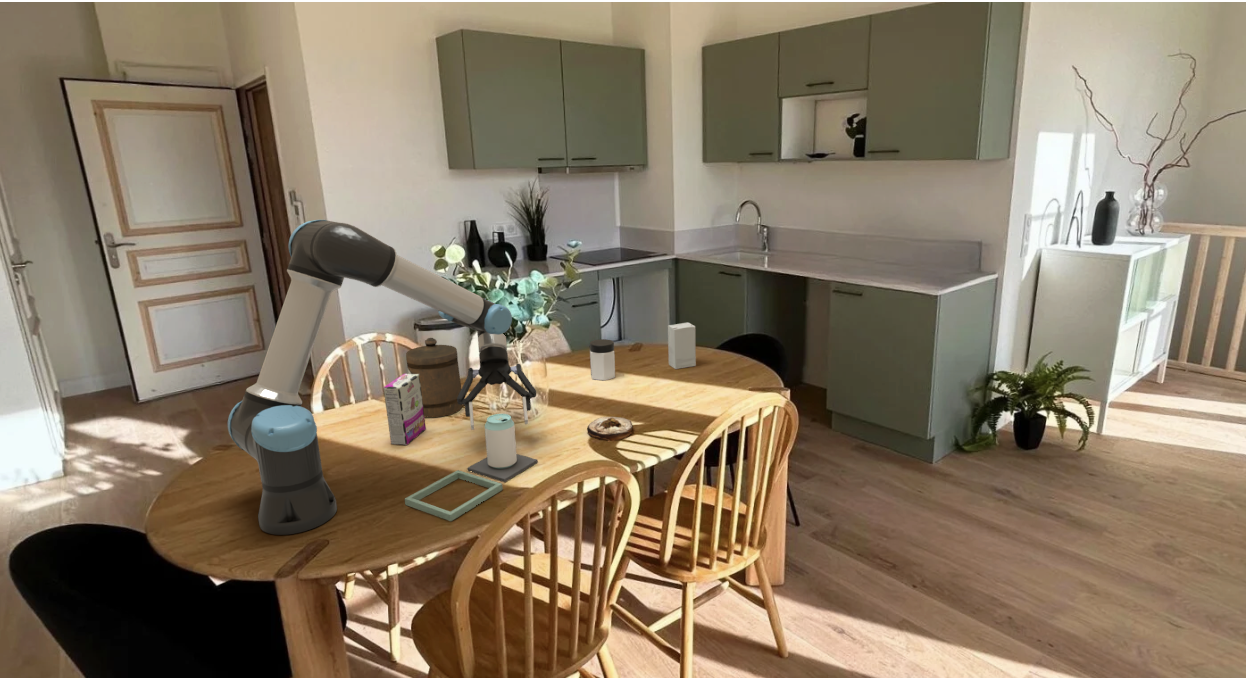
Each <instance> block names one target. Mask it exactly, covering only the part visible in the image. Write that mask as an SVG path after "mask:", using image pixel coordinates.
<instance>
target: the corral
mask: <svg viewBox="0 0 1246 678" xmlns="http://www.w3.org/2000/svg"><path fill="white" fill-rule="evenodd" d="M458 479H460V480H463V481H465V480H466V481H465V482H468V481H469V483H471V482H472V483H471V484H474V483H475V485H477V486H481V487H484V488H487V489H486V490H484V491H483V492H481V493H479V494H477V495H476V496H474V497H473V498H471V499H469V500H468V501H465V502H464V503H462V504H461V505H459V506H458V507H456V508H454V509H452V510H450V511H449V510H446V509H444V508H441V507H438V506H435V505H432V504H430V503H427V502H424V501H421V500H422V499H424V498H426V497H427V496H429V495H431V494H433V493H434V492H436V491H439V490H441V488H444V487H445V486H447V485H449V484H452V483H453V482H454V481H457V480H458ZM503 489H504V487H503V482H502V483H501V482H497V481H494V480H491V479H488V478H484V477H482V476H478V475H477V474H476V475H475V474H472V473H469V472H465V471H462V470H459V469H458V470H455V471H454V472H452V473H449V474H448V475H446V476H444V477H442V478H440V479H438V480H437V481H435V482H433V483H431V484H429V485H427V486H426V487H424V488H422V489H419V490H418V491H416V492H415V493H413V494H411V495H409V496H407V497H405V498H404V503H405V506H408V507H410V508H413V509H416V510H419V511H421V512H424V513H426V514H430V515H432V516H435V517H437V518H440V519H442V520H445V521H449V522H453V521H454V520H456V519H457V518H459V517H461V516H462V515H464V514H465V512H466V513H467V512H469V511H470V510H473V509H474V508H475V507H477V506H479V505H480V504H482V503H483V501H484V502H485V501H487V500H488V499H490V498H491V497H493V496H495V495H496V494H498V493H500V492H502V491H503ZM481 502H482V503H481ZM478 504H479V505H478ZM476 505H477V506H476Z"/></svg>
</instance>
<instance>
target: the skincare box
mask: <svg viewBox="0 0 1246 678" xmlns="http://www.w3.org/2000/svg"><path fill="white" fill-rule="evenodd" d="M667 342H668V343H667V345H668V348H667V349H668V365H669V366H670V367H672V368H673V369H675V370H678V369H684V368H691V367H696V366H697V364H696V362H697V358H696V356H697V355H696V354H697V353H696V352H697V351H696V325H693V324H692V323H690V322H682V323H677V324H676V323H675V324H669V325H667Z"/></svg>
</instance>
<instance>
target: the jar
mask: <svg viewBox="0 0 1246 678" xmlns="http://www.w3.org/2000/svg"><path fill="white" fill-rule="evenodd" d="M615 357H616V356H615V342H614V341H613V340H611V339H608V338H607V339H605V338H604V339H601V338H600V339H595V340H591V341H590V342H589V360H590V361H589V363H590V366H589V367H590V376H591V379H592V380H597V381H607V380H611V379H615V378H616V363H615V359H616V358H615Z"/></svg>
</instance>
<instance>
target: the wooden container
mask: <svg viewBox="0 0 1246 678" xmlns="http://www.w3.org/2000/svg"><path fill="white" fill-rule="evenodd" d="M437 341H438V340H437V339H436V338H433V337H428V338H426V340H424V344H425V345H422V346H418V347H415V348H412V349H409V350H408V351H407V352H406V353H405V357H406V364H407V367H406V368H407V374H419V378H420V386H421V394H422V402H423V410H424V417H425V418H428V419H429V418H431V419H432V418H442V417H445V416H449V415H453V414H455V413H457V412H459V411H460V410H461V409H462V408H463V407H464V405H463V404H458V402H457V397H458V395H459V393H460V391H461V389H462V383H461V375H460V367H459V356H458V349H457V348H456V346H454V345H447V344H437V343H438V342H437Z"/></svg>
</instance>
